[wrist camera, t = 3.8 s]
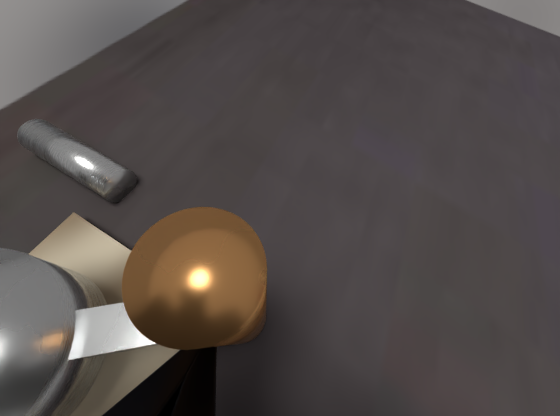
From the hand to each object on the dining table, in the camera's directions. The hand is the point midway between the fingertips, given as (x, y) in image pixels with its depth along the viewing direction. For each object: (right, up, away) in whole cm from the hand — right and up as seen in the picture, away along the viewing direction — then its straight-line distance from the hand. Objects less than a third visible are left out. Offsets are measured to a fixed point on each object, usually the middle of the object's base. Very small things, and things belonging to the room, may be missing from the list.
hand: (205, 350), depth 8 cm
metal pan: (-5, -2, +5) cm, 7 cm away
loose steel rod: (-11, +8, +11) cm, 18 cm away
